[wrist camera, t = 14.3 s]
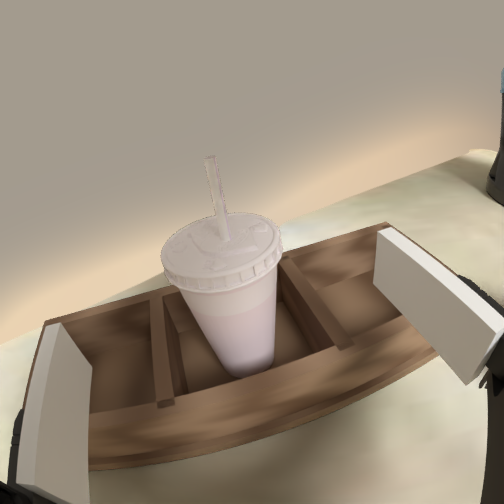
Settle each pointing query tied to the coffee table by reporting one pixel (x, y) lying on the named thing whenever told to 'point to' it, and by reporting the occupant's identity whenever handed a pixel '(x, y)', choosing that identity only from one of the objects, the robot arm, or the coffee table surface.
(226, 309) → the smoothie
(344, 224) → the coffee table surface
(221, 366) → the caddy
